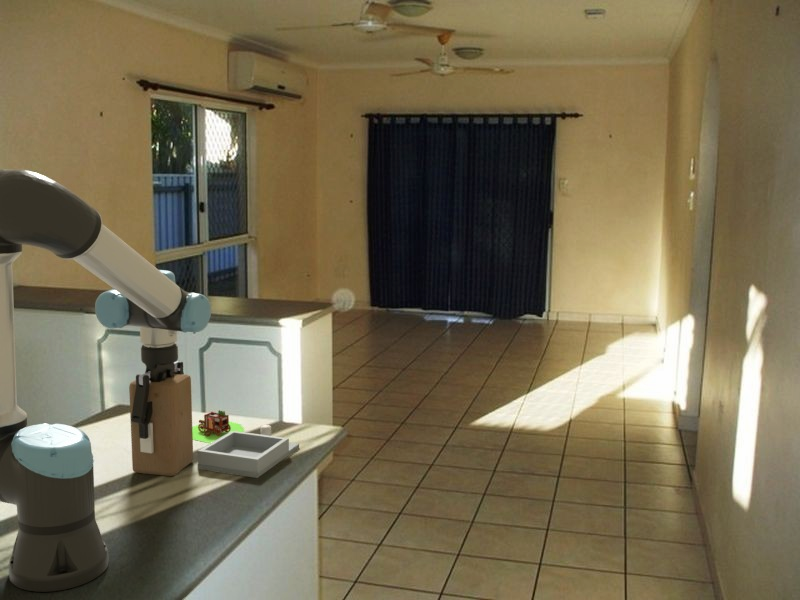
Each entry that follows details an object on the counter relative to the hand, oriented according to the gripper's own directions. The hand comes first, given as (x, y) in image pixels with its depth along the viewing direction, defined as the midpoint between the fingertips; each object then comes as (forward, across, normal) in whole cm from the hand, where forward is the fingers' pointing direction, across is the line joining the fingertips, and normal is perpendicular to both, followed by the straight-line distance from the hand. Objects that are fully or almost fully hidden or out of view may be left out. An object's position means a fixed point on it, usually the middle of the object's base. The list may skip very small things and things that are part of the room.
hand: (162, 443), depth 186 cm
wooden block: (+6, 0, 0) cm, 6 cm away
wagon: (+6, +25, +2) cm, 26 cm away
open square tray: (+5, +12, -14) cm, 20 cm away
